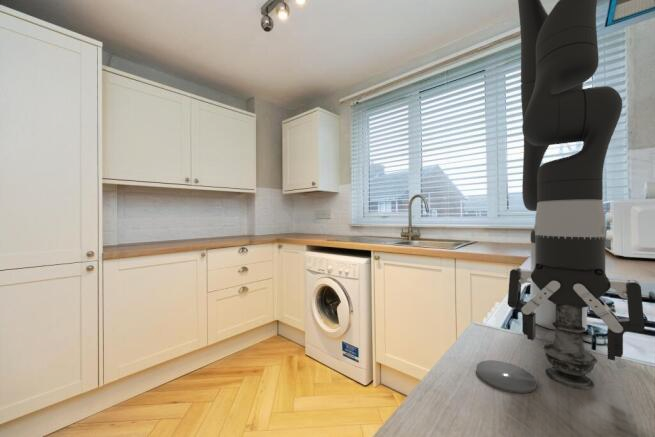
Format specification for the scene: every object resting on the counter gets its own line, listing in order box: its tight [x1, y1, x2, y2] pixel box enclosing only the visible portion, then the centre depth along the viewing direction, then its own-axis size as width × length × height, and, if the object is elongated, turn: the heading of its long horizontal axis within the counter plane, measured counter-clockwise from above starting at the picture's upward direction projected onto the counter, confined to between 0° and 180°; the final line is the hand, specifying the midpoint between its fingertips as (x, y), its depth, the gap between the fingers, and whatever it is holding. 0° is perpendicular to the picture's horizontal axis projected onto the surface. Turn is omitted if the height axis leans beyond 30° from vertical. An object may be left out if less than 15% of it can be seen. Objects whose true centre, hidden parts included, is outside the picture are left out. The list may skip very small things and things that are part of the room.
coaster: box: [476, 359, 537, 394], centre depth 40 cm, size 7×7×1 cm
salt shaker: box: [542, 304, 598, 390], centre depth 40 cm, size 6×6×12 cm
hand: (568, 347), depth 40 cm, fingers open, 8 cm apart
